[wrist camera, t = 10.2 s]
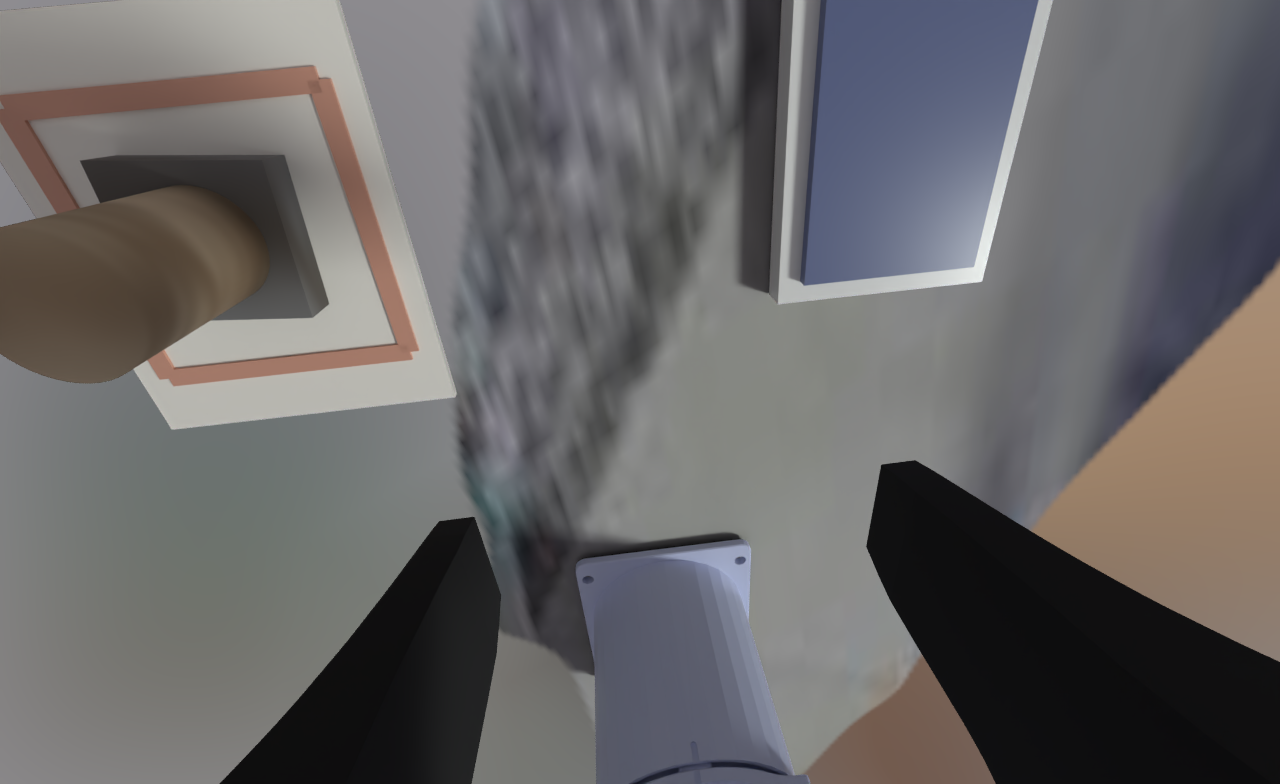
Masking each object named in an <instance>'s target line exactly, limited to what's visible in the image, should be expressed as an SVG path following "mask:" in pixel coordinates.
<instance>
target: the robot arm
mask: <svg viewBox="0 0 1280 784" xmlns="http://www.w3.org/2000/svg"><path fill="white" fill-rule="evenodd" d="M866 547H867V549H868V552H869V554H870V556H871V559H872V561H873V563H874V566H875V568H876V570H877V573H878V575H879V577H880V579H881V582H882V584H883V586H884V588H885V590H886V592H887V595H888V597H889V599H890V601H891V603H892V604H893V606H894V608H895V609H896V611H897V613H898V615H899V616H900V618H901V620H902V621H903V623H904V625H905V626H906V628H907V630H908V632H909V633H910V635H911V637H912V638H913V640H914V642H915V643H916V645H917V647H918V648H919V650H920V652H921V653H922V655H923V657H924V658H925V660H926V661H927V663H928V665H929V667H930V668H931V670H932V671H933V673H934V675H935V676H936V678H937V679H938V681H939V683H940V685H941V686H942V688H943V689H944V691H945V693H946V695H947V696H948V698H949V700H950V701H951V703H952V705H953V706H954V708H955V710H956V711H957V713H958V715H959V716H960V718H961V719H962V721H963V723H964V725H965V726H966V728H967V730H968V731H969V733H970V735H971V737H972V739H973V740H974V742H975V744H976V746H977V747H978V749H979V751H980V753H981V755H982V756H983V759H984V760H985V762H986V764H987V766H988V768H989V771H990V773H991V775H992V776H993V779H994V781H995V783H996V784H1280V662H1278V661H1276V660H1274V659H1272V658H1270V657H1268V656H1265V655H1263V654H1261V653H1259V652H1257V651H1255V650H1253V649H1250V648H1248V647H1246V646H1244V645H1242V644H1240V643H1238V642H1235V641H1234V640H1231V639H1230V638H1227V637H1225V636H1223V635H1221V634H1219V633H1217V632H1215V631H1213V630H1211V629H1209V628H1207V627H1205V626H1203V625H1201V624H1199V623H1197V622H1195V621H1193V620H1191V619H1189V618H1187V617H1185V616H1183V615H1181V614H1179V613H1177V612H1175V611H1173V610H1171V609H1169V608H1167V607H1165V606H1163V605H1161V604H1159V603H1157V602H1155V601H1153V600H1151V599H1150V598H1148V597H1146V596H1144V595H1142V594H1140V593H1138V592H1136V591H1134V590H1133V589H1131V588H1129V587H1127V586H1125V585H1124V584H1122V583H1120V582H1118V581H1116V580H1114V579H1113V578H1111V577H1109V576H1107V575H1105V574H1104V573H1102V572H1100V571H1098V570H1096V569H1095V568H1093V567H1091V566H1089V565H1087V564H1086V563H1084V562H1082V561H1080V560H1079V559H1077V558H1075V557H1073V556H1071V555H1070V554H1068V553H1067V552H1065V551H1063V550H1061V549H1060V548H1058V547H1056V546H1055V545H1053V544H1051V543H1050V542H1048V541H1046V540H1044V539H1043V538H1041V537H1039V536H1038V535H1036V534H1035V533H1033V532H1031V531H1030V530H1028V529H1026V528H1025V527H1023V526H1021V525H1020V524H1018V523H1016V522H1015V521H1013V520H1012V519H1010V518H1008V517H1007V516H1005V515H1003V514H1002V513H1000V512H999V511H997V510H995V509H994V508H992V507H991V506H989V505H987V504H986V503H984V502H983V501H981V500H979V499H978V498H976V497H975V496H973V495H971V494H970V493H968V492H967V491H965V490H963V489H962V488H960V487H959V486H957V485H955V484H954V483H952V482H951V481H949V480H947V479H946V478H944V477H943V476H941V475H939V474H938V473H936V472H934V471H933V470H931V469H929V468H928V467H926V466H924V465H922V464H921V463H919V462H917V461H915V460H914V461H906V462H898V463H891V464H883V465H881V470H880V475H879V480H878V486H877V491H876V497H875V502H874V508H873V513H872V519H871V524H870V529H869V535H868V540H867V546H866ZM737 557H740V558H737ZM750 563H751V549H750V546H749V543H748V542H747V541H746V540H743V539H737V540H729V541H721V542H713V543H705V544H697V545H689V546H681V547H673V548H665V549H657V550H649V551H641V552H633V553H625V554H617V555H609V556H602V557H594V558H586V559H582V560H580V561H578V562H577V564H576V578H577V582H578V587H579V592H580V597H581V602H582V606H583V611H584V616H585V621H586V625H587V630H588V635H589V640H590V645H591V649H592V654H593V659H594V664H595V729H596V784H810V780H809V777H808V776H807V775H805V774H804V775H795V774H794V770H793V767H792V764H791V760H790V757H789V754H788V750H787V747H786V744H785V740H784V737H783V734H782V731H781V727H780V724H779V721H778V717H777V714H776V711H775V707H774V704H773V701H772V697H771V694H770V691H769V688H768V684H767V681H766V678H765V674H764V671H763V668H762V664H761V661H760V658H759V655H758V651H757V648H756V645H755V641H754V638H753V635H752V631H751V628H750V625H749V593H750ZM585 576H590V577H585ZM500 601H501V594H500V591H499V588H498V585H497V582H496V579H495V576H494V573H493V570H492V567H491V564H490V561H489V558H488V555H487V553H486V550H485V547H484V544H483V541H482V538H481V535H480V532H479V529H478V526H477V523H476V520H475V517H469V518H461V519H454V520H446V521H439V522H438V524H437V525H436V526H435V527H434V528H433V530H432V531H431V532H430V534H429V535H428V536H427V538H426V539H425V540H424V542H423V543H422V544H421V546H420V547H419V548H418V550H417V551H416V553H415V554H414V555H413V556H412V558H411V559H410V560H409V562H408V563H407V564H406V566H405V567H404V568H403V570H402V571H401V573H400V574H399V575H398V577H397V578H396V579H395V580H394V582H393V583H392V585H391V586H390V587H389V588H388V590H387V591H386V592H385V594H384V595H383V596H382V598H381V599H380V600H379V601H378V603H377V604H376V605H375V607H374V608H373V609H372V610H371V612H370V613H369V614H368V615H367V617H366V618H365V619H364V621H363V622H362V623H361V624H360V626H359V627H358V628H357V630H356V631H355V632H354V633H353V635H352V636H351V637H350V638H349V640H348V641H347V642H346V643H345V645H344V646H343V647H342V648H341V649H340V651H339V652H338V653H337V654H336V655H335V656H334V658H333V659H332V660H331V661H330V662H329V664H328V665H327V666H326V667H325V668H324V670H323V671H322V672H321V673H320V674H319V675H318V677H317V678H316V679H315V680H314V681H313V683H312V684H311V685H310V686H309V687H308V689H307V690H306V691H305V692H304V693H303V694H302V696H301V697H300V698H299V699H298V700H297V701H296V702H295V704H294V705H293V706H292V707H291V708H290V709H289V710H288V711H287V713H286V714H285V715H284V716H283V717H282V718H281V719H280V720H279V721H278V723H277V724H276V725H275V726H274V727H273V728H272V729H271V730H270V731H269V732H268V733H267V735H266V736H265V737H264V738H263V739H262V740H261V741H260V742H259V743H258V744H257V745H256V746H255V747H254V748H253V749H252V750H251V751H250V753H249V754H248V755H247V756H246V757H245V758H244V759H243V760H242V761H241V762H240V763H239V764H238V765H237V766H236V767H235V769H233V770H232V771H231V772H230V774H229V775H228V776H227V777H226V778H225V779H224V780H223V781H222V782H221V783H220V784H471V783H472V778H473V773H474V768H475V763H476V757H477V752H478V748H479V742H480V737H481V732H482V727H483V722H484V717H485V711H486V707H487V702H488V696H489V691H490V686H491V680H492V675H493V670H494V664H495V659H496V653H497V642H498V630H499V616H500Z"/></svg>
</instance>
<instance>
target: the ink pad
mask: <svg viewBox="0 0 1280 784" xmlns="http://www.w3.org/2000/svg"><path fill="white" fill-rule="evenodd" d="M1052 2H1053V0H782V5H781V28H780V52H779V75H778V98H777V121H776V144H775V167H774V190H773V214H772V237H771V260H770V283H769V295H770V296H771V297H772V298H773V299H774V300H775V301H776V303H777V304H785V303H794V302H803V301H812V300H821V299H830V298H839V297H848V296H857V295H866V294H875V293H884V292H893V291H902V290H911V289H920V288H929V287H938V286H947V285H956V284H965V283H974V282H982V279H983V275H984V271H985V267H986V263H987V259H988V255H989V251H990V247H991V243H992V239H993V235H994V231H995V228H996V224H997V220H998V216H999V212H1000V208H1001V204H1002V200H1003V196H1004V192H1005V188H1006V184H1007V180H1008V176H1009V172H1010V168H1011V164H1012V160H1013V156H1014V152H1015V148H1016V145H1017V141H1018V137H1019V133H1020V129H1021V125H1022V121H1023V117H1024V113H1025V109H1026V105H1027V101H1028V97H1029V93H1030V89H1031V85H1032V81H1033V77H1034V73H1035V69H1036V65H1037V61H1038V58H1039V54H1040V50H1041V46H1042V42H1043V38H1044V34H1045V30H1046V26H1047V22H1048V18H1049V14H1050V10H1051V6H1052Z"/></svg>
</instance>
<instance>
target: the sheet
mask: <svg viewBox="0 0 1280 784" xmlns="http://www.w3.org/2000/svg"><path fill="white" fill-rule="evenodd" d="M114 155H285V158H286V162H287V165H288V168H289V172H290V175H291V178H292V182H293V185H294V188H295V192H296V195H297V198H298V202H299V205H300V208H301V212H302V215H303V218H304V221H305V225H306V228H307V231H308V235H309V238H310V241H311V245H312V248H313V251H314V255H315V258H316V261H317V265H318V268H319V271H320V275H321V278H322V281H323V284H324V288H325V291H326V294H327V298H328V301H329V305H327V306H326V307H325V308H324V309H323V310H322V311H320V312H319V313H318V314H317V315H316V316H314V317H313V318H292V319H253V320H213V321H209V322H207V323H206V324H204V325H203V326H201V327H199V328H198V329H196V330H195V331H193V332H191V333H190V334H188V335H187V336H185V337H183V338H182V339H180V340H179V341H177V342H175V343H174V344H172V345H171V346H169V347H167V348H166V349H164V350H163V351H161V352H159V353H158V354H156V355H155V356H153V357H151V358H150V359H148V360H147V361H145V362H143V363H142V364H140V365H139V366H137V367H135V368H134V369H133V370H134V371H135V373H136V375H137V376H138V378H139V379H140V381H141V382H142V384H143V385H144V387H145V388H146V390H147V392H148V393H149V395H150V396H151V398H152V399H153V401H154V403H155V404H156V406H157V407H158V409H159V410H160V412H161V413H162V415H163V416H164V418H165V420H166V421H167V423H168V424H169V426H170V428H171V429H172V430H174V429H183V428H191V427H200V426H209V425H217V424H226V423H235V422H244V421H253V420H261V419H269V418H279V417H287V416H296V415H305V414H313V413H322V412H331V411H339V410H349V409H357V408H366V407H373V406H374V407H375V406H384V405H392V404H401V403H409V402H418V401H427V400H436V399H445V398H454V397H456V394H457V392H456V388H455V385H454V382H453V378H452V375H451V372H450V368H449V365H448V362H447V358H446V355H445V352H444V348H443V345H442V342H441V338H440V335H439V332H438V328H437V325H436V322H435V318H434V315H433V311H432V308H431V305H430V301H429V298H428V295H427V291H426V288H425V285H424V281H423V278H422V275H421V271H420V268H419V265H418V262H417V258H416V255H415V251H414V248H413V245H412V241H411V238H410V235H409V231H408V228H407V224H406V221H405V218H404V214H403V211H402V208H401V205H400V201H399V198H398V194H397V191H396V188H395V184H394V181H393V178H392V174H391V171H390V168H389V165H388V161H387V157H386V154H385V151H384V148H383V144H382V141H381V137H380V134H379V131H378V127H377V124H376V121H375V117H374V114H373V111H372V107H371V104H370V101H369V97H368V94H367V91H366V87H365V84H364V80H363V78H362V74H361V70H360V67H359V64H358V60H357V57H356V54H355V51H354V47H353V44H352V41H351V37H350V34H349V30H348V27H347V24H346V20H345V17H344V14H343V10H342V7H341V4H340V0H117V1H106V2H95V3H83V4H71V5H60V6H49V7H37V8H26V9H14V10H3V11H0V162H1V164H2V165H3V167H4V169H5V170H6V172H7V173H8V175H9V176H10V178H11V180H12V181H13V182H14V184H15V186H16V187H17V189H18V191H19V192H20V193H21V195H22V196H23V198H24V200H25V201H26V203H27V205H28V206H29V207H30V209H31V211H32V212H33V214H34V215H35V217H36V219H37V218H41V217H45V216H50V215H54V214H58V213H62V212H66V211H70V210H74V209H79V208H83V207H87V206H91V205H95V204H99V203H100V202H99V200H98V198H97V196H96V194H95V192H94V189H93V187H92V185H91V183H90V181H89V179H88V177H87V175H86V173H85V171H84V169H83V167H82V165H81V162H80V160H87V159H94V158H100V157H107V156H114Z"/></svg>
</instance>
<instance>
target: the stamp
mask: <svg viewBox="0 0 1280 784" xmlns="http://www.w3.org/2000/svg"><path fill="white" fill-rule="evenodd" d="M80 162H81V165H82V167H83V169H84V171H85V173H86V175H87V177H88V179H89V181H90V183H91V185H92V187H93V189H94V192H95V194H96V196H97V198H98V200H99V202H100V203H99V204H95V205H91V206H87V207H83V208H79V209H74V210H70V211H66V212H62V213H58V214H54V215H50V216H45V217H41V218H37V219H34V220H29V221H25V222H21V223H17V224H12V225H8V226H4V227H0V354H1V355H3V356H4V357H6V358H7V359H9V360H11V361H13V362H15V363H16V364H18V365H20V366H22V367H24V368H26V369H28V370H30V371H33V372H35V373H38V374H41V375H43V376H46V377H50V378H53V379H57V380H62V381H66V382H74V383H101V382H106V381H110V380H113V379H115V378H119V377H120V376H122V375H124V374H126V373H127V372H129V371H131V370H132V369H134V368H135V367H137V366H139V365H140V364H142V363H143V362H145V361H147V360H148V359H150V358H151V357H153V356H155V355H156V354H158V353H159V352H161V351H163V350H164V349H166V348H167V347H169V346H171V345H172V344H174V343H175V342H177V341H179V340H180V339H182V338H183V337H185V336H187V335H188V334H190V333H191V332H193V331H195V330H196V329H198V328H199V327H201V326H203V325H204V324H206V323H207V322H209V321H213V320H253V319H292V318H313V317H314V316H316V315H317V314H318V313H319V312H320V311H322V310H323V309H324V308H325V307H326V306H327V305H329V301H328V298H327V294H326V291H325V288H324V284H323V281H322V278H321V275H320V271H319V268H318V265H317V261H316V258H315V255H314V251H313V248H312V245H311V241H310V238H309V235H308V231H307V228H306V225H305V221H304V218H303V215H302V212H301V208H300V205H299V202H298V198H297V195H296V192H295V188H294V185H293V182H292V178H291V175H290V172H289V168H288V165H287V162H286V158H285V155H114V156H107V157H100V158H94V159H87V160H80Z"/></svg>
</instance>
